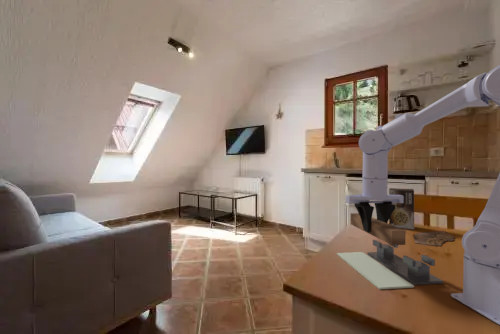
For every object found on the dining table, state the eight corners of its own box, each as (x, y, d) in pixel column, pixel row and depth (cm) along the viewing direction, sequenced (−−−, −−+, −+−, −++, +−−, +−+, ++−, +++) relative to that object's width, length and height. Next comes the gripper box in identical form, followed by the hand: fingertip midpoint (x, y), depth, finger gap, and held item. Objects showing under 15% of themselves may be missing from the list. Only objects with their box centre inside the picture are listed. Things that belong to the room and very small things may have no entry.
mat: (413, 287, 53) (413, 285, 53) (379, 289, 52) (379, 287, 52) (362, 253, 73) (362, 251, 73) (336, 254, 72) (336, 252, 72)
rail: (405, 244, 53) (405, 230, 53) (391, 245, 53) (391, 230, 53) (360, 223, 71) (360, 213, 71) (350, 224, 71) (350, 213, 71)
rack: (443, 283, 54) (443, 262, 54) (414, 284, 54) (414, 263, 54) (389, 253, 72) (389, 237, 72) (367, 254, 72) (367, 238, 72)
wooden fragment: (436, 249, 76) (436, 246, 76) (399, 240, 86) (399, 237, 86) (465, 236, 90) (465, 233, 90) (431, 229, 99) (431, 227, 99)
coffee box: (413, 226, 103) (414, 188, 103) (414, 230, 98) (414, 190, 97) (389, 223, 108) (389, 187, 108) (388, 226, 102) (388, 188, 102)
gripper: (390, 177, 67) (390, 226, 67) (340, 177, 65) (339, 227, 66) (410, 179, 60) (409, 233, 60) (353, 179, 58) (353, 235, 59)
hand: (374, 231), depth 62 cm, fingers closed on rail, 3 cm apart
